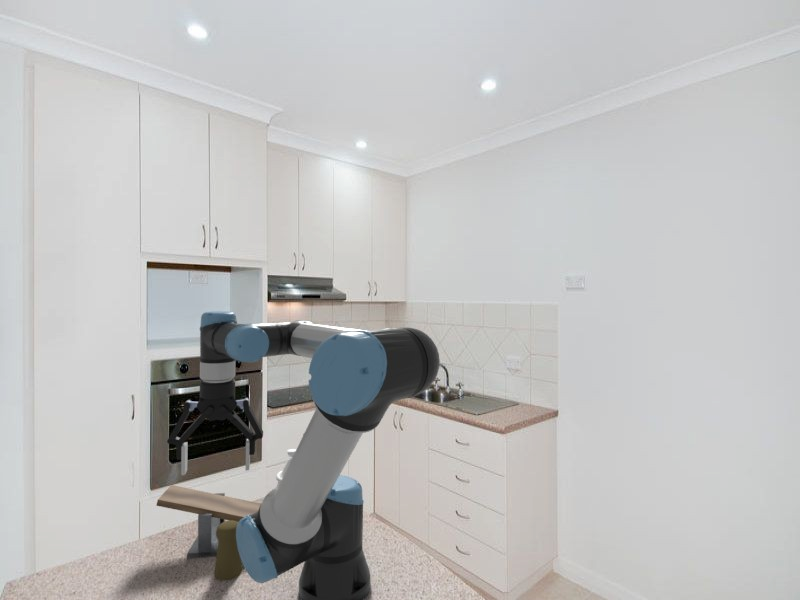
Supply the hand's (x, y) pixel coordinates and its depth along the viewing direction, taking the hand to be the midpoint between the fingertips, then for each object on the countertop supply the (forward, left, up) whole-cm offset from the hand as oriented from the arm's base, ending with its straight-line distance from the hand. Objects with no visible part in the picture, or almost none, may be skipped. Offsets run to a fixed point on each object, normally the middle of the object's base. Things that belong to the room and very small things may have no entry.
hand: (216, 470), depth 102 cm
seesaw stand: (+9, +4, -22) cm, 24 cm away
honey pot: (+21, -15, -22) cm, 34 cm away
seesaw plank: (+9, +4, -13) cm, 16 cm away
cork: (-3, -3, -22) cm, 23 cm away
